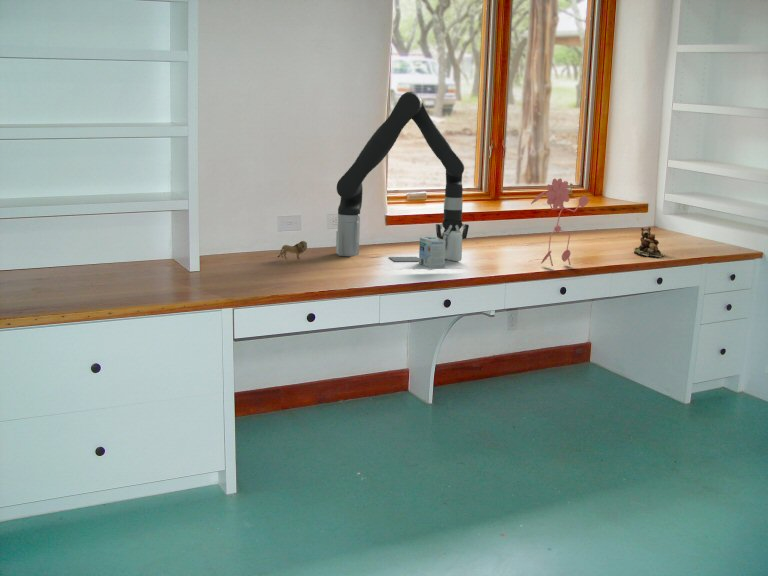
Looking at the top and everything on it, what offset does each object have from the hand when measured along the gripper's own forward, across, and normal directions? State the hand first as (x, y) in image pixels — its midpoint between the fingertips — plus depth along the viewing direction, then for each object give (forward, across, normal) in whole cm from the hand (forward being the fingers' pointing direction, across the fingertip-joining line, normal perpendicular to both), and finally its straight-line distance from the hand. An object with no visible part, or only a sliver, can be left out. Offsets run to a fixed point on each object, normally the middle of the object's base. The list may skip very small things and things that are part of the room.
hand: (451, 248), depth 371 cm
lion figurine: (+5, -65, +6) cm, 66 cm away
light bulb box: (+5, -12, -12) cm, 18 cm away
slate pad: (+5, -19, +1) cm, 20 cm away
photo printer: (+5, 0, 0) cm, 5 cm away
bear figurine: (+5, +97, +9) cm, 97 cm away
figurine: (+5, +40, -10) cm, 42 cm away
